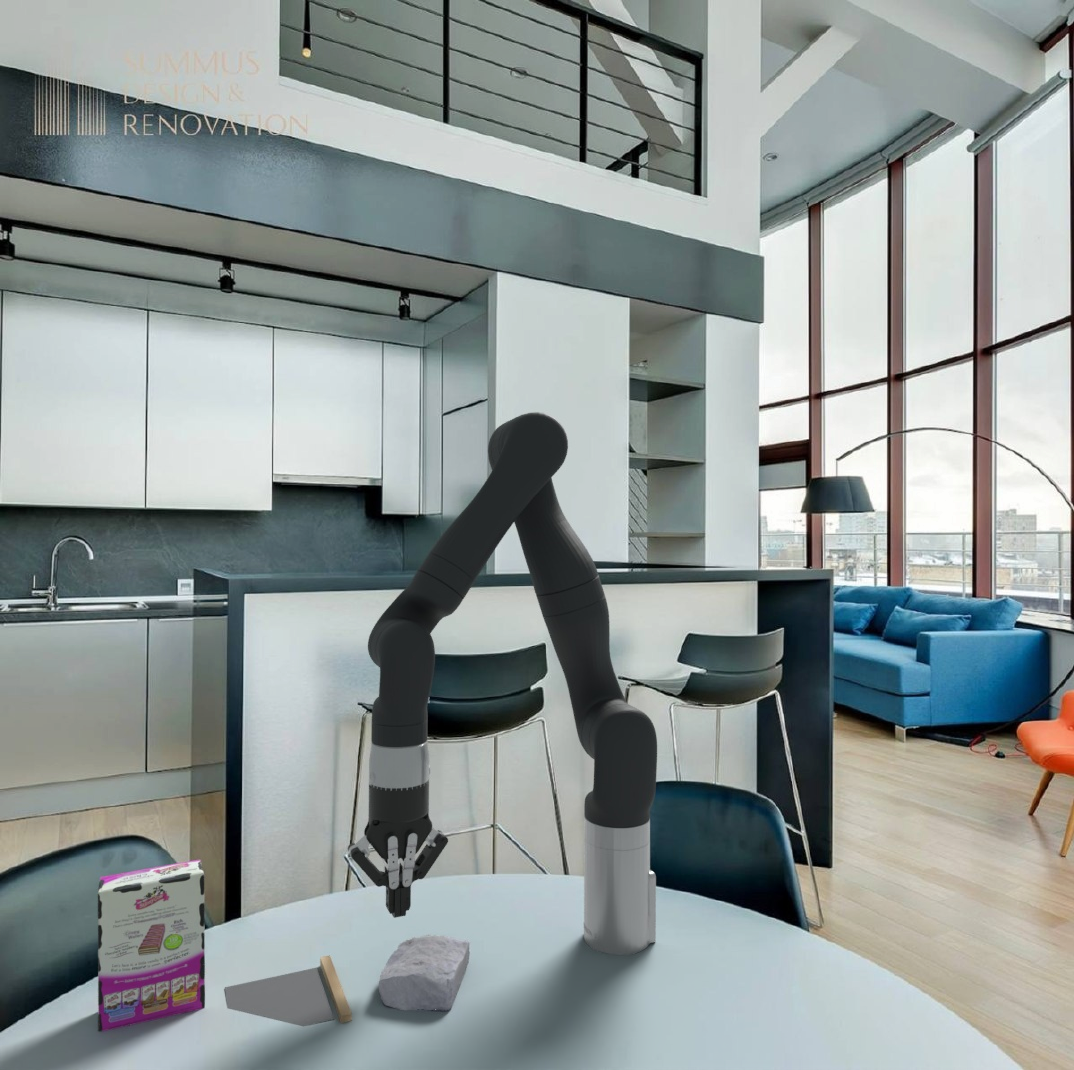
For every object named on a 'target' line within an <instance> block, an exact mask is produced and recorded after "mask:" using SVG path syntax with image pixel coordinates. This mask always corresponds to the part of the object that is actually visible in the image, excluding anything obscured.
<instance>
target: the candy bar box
mask: <svg viewBox="0 0 1074 1070" xmlns="http://www.w3.org/2000/svg"><path fill="white" fill-rule="evenodd" d="M205 921H206V920H205V873H204V868H203V866H202V860H201V859H195V860H189V861H183V862H177V863H171V864H165V865H160V866H156V867H149V868H144V869H137V870H134V871H133V870H132V871H128V872H127V871H126V872H121V873H117V874H110V875H106V876H105V875H103V876H100V877H99V884H98V889H97V964H98V965H97V969H98V970H97V973H98V974H97V977H98V978H97V979H98V980H97V985H98V986H97V993H98V994H97V1002H98V1008H97V1012H98V1015H97V1031H98V1032H104V1031H108V1030H113V1029H114V1030H115V1029H118V1028H122V1027H121V1026H123V1027H126V1025H127V1026H131V1025H130V1024H132V1025H136V1024H140V1023H144V1022H150V1021H153V1020H157V1019H162V1018H167V1017H171V1016H176V1015H179V1014H185V1013H188V1012H195V1011H198V1010H202V1009H205V1008H206V1007H205V1006H206V968H205V967H206V963H205V961H206V960H205V959H206V956H205V955H206V953H205V952H206V951H205V948H206V947H205V945H206V944H205V936H206V935H205Z"/></svg>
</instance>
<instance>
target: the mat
mask: <svg viewBox="0 0 1074 1070" xmlns="http://www.w3.org/2000/svg"><path fill="white" fill-rule="evenodd" d="M224 992H225V1001H226V1009H229V1010H233V1011H237V1012H241V1013H246V1014H249V1015H252V1016H253V1015H254V1016H258V1017H261V1018H267V1019H271V1020H274V1021H278V1022H283V1023H286V1024H291V1025H296V1026H298V1027H299V1026H300V1027H307V1026H311V1025H316V1024H317V1025H318V1024H321V1023H325V1022H329V1021H334V1020H335V1017H334V1014H333V1012H332V1008H331V1006H330V1002H329V999H328V996H327V993H326V990H325V987H324V985H323V982H322V979H321V976H320V972H319V969H318V967H313V968H309V969H305V970H299V971H293V972H290V973H284V974H281V975H276V976H271V977H266V978H263V979H262V978H261V979H258V980H253V981H252V980H251V981H248V982H244V983H239V984H234V985H231V986H230V985H229V986H226V987H224Z"/></svg>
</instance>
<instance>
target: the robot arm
mask: <svg viewBox="0 0 1074 1070" xmlns="http://www.w3.org/2000/svg"><path fill="white" fill-rule="evenodd" d="M487 446H488V447H487V455H488V456H487V457H488V462H489V465H490V468H491V472H490V474H489V475H488V477H487V479H486V481H485V482H484V483H483V485H482V487H481V488H480V489H479V490H478V492H477V494H476V495H475V496H474V498H473V499H472V500H471V501H470V502H469V503H468V505H467V506H466V507H465V508H464V510H462V512H461V513H460V514H459V515H458V516H457V517H456V518H455V519H454V520H453V522H452V523H451V524H449V526H448V527H447V528H446V529H445V531H444V532H443V533H442V534H441V535H440V536H439V539H438V540H437V541H436V542H435V544H434V545H433V547H432V548H431V549H430V550H429V552H428V554H427V555H426V557H425V559H424V560H423V561H422V563H421V564H420V566H419V568H418V569H417V570H416V572H415V574H414V575H413V577H412V579H411V580H410V583H409V584H408V585H407V586H406V587H405V588H404V589H403V590H402V591H401V592H400V593H399V595H397V596H396V598H395V599H394V600H393V601H392V603H391V604H390V605H389V606H388V607H387V608H386V610H384V612H383V613H382V614H381V615H380V617H379V618H378V619H377V621H376V623H375V624H374V626H373V628H372V630H371V631H370V634H369V636H368V641H367V651H368V654H369V657H370V659H371V661H372V662H373V664H375V665H376V666H378V668H379V687H378V688H379V689H378V696H377V697H376V698H375V700H374V701H373V704H372V709H371V736H370V737H371V738H370V739H371V740H370V741H371V742H370V744H371V746H370V753H369V760H368V821H367V823H366V826H365V827H364V830H363V834H364V835H363V836H362V837H361V838H360V839H359V840H358V841H357V842H355V843H354V842H353V843H350V844H349V845H348V846H347V852H348V854H349V855H350V856H351V858H352V860H353V861H354V862H355V863H356V864H357V866H358V867H359V868H360V869H361V870H362V871H363V872H364V873H365V875H366V876H367V877H368V878H369V879H370V880H371V881H372V882H373V884H374V885H375V886H376V887H385V906H386V909H387V912H388V913H389V914H390V915H392V917H393V918H394V919H396V918H400V917H405V916H406V915H407V911H409V910H410V909H411V903H412V902H411V899H412V898H411V894H412V892H411V890H412V884H413V883H414V882H415V881H417V880H422V879H424V878H425V877H426V876H427V874H428V873H429V871H430V870H431V868H432V867H433V865H434V864H435V862H436V861H437V859H438V858H439V857H440V855H441V853H442V852H443V850H444V849H445V848H446V847H447V845H448V842H449V838H448V837H447V836H446V835H445V834H444V833H443V832H442V830H440V829H438V830H437V829H435V828H434V827H433V822H432V820H431V819H430V815H429V814H430V813H429V811H430V774H431V766H430V753H429V752H430V751H429V744H428V742H429V741H428V733H429V732H428V725H429V724H428V721H429V720H428V717H429V715H428V704H429V699H430V695H431V691H432V690H431V689H432V685H433V679H434V673H435V666H436V665H435V664H436V650H435V649H436V647H435V644H434V643H435V642H434V640H433V637H432V634H431V633H432V632H433V630H434V629H435V628H436V626H437V625H438V624H439V623H440V621H441V620H442V619H443V618H446V617H448V616H451V615H452V614H453V613H455V611H456V610H457V609H458V608H459V607H460V605H461V604H462V602H463V601H464V599H465V598H466V596H467V594H468V593H469V591H470V590H471V588H472V586H473V585H474V583H475V582H476V580H477V578H478V576H480V573H481V572H482V570H483V569H484V567H485V566H486V564H487V563H488V560H489V559H490V558H491V556H492V554H493V553H494V552H495V550H496V548H497V547H498V545H499V544H500V543H501V541H502V539H503V538H504V536H505V535H506V534H507V533H508V531H509V529H510V528H511V527H512V525H513V524H514V525H515V526H514V527H515V528H516V532H517V535H518V538H519V542H520V545H521V548H522V552H523V555H524V560H525V562H526V566H527V568H528V571H529V575H530V580H531V581H532V586H533V590H534V593H535V595H536V599H537V602H538V605H539V608H540V610H541V611H540V613H541V615H542V619H543V620H544V623H545V626H546V628H547V631H548V634H549V638H550V640H551V643H552V646H553V648H554V652H555V654H556V657H557V659H558V661H559V664H560V666H561V670H562V673H563V674H564V678H565V681H566V686H567V689H568V694H569V698H570V704H571V708H572V709H571V710H572V713H573V719H574V723H575V728H576V732H577V738H578V740H579V742H580V745H581V747H582V748H583V750H584V751H585V753H586V754H587V755H588V756H589V757H590V758H591V759H592V760H593V761H594V762H593V786H592V790H591V791H590V792H588V793H587V794H586V796H585V799H584V803H583V804H584V805H583V806H584V815H583V817H584V819H583V821H584V827H583V828H584V829H583V831H584V832H583V837H584V838H583V839H584V840H583V843H584V844H583V846H584V849H583V850H584V852H583V855H584V857H583V858H584V859H583V861H584V863H583V869H584V870H583V871H584V872H583V874H584V875H583V878H584V879H583V881H584V882H583V939H584V942H585V944H586V945H587V946H588V947H590V948H591V949H593V950H594V951H597V952H600V953H603V954H607V955H614V956H628V955H629V956H630V955H634V954H638V953H640V952H643V951H644V950H645V949H647V947H648V946H649V945H650V944H651V943H655V942H656V939H657V936H656V935H657V930H656V928H657V926H656V925H657V923H656V922H657V904H656V902H657V896H656V895H657V889H656V888H657V876H656V873H655V872H654V871H653V870H652V869H651V807H652V805H653V803H654V801H655V796H656V790H657V789H656V788H657V769H658V768H657V765H658V740H657V739H658V737H657V732H656V728H655V726H654V723H653V722H652V719H651V718H650V717H649V716H648V715H647V714H646V713H645V712H643V710H640V709H638V708H637V707H635V706H633V705H631V704H629V703H628V702H627V700H626V698H625V696H624V693H623V691H622V689H621V686H620V683H619V681H618V678H617V676H616V673H615V670H614V667H613V662H612V659H611V652H610V649H611V648H610V636H611V635H610V612H609V606H608V602H607V598H606V594H605V591H604V589H603V588H604V587H603V584H602V582H601V579H600V578H601V577H600V575H599V572H598V569H597V567H596V564H595V561H594V560H593V557H592V556H591V554H590V553H589V551H588V549H587V547H586V546H585V545H584V543H583V542H582V540H581V538H580V537H579V535H578V534H577V533H576V531H575V530H574V528H573V527H572V526H571V524H570V522H569V521H568V519H567V518H566V516H565V514H564V512H563V510H562V508H561V505H560V503H559V500H558V496H557V493H556V489H555V486H554V483H553V479H552V477H553V476H554V475H555V474H556V473H557V472H558V471H559V470H560V469H561V467H562V466H563V465H564V463H565V461H566V458H567V455H568V450H569V442H568V436H567V433H566V431H565V429H564V427H563V425H562V424H561V423H560V422H559V421H558V420H557V418H555V417H553V416H551V415H550V414H548V413H544V412H539V411H538V412H536V411H534V412H527V413H524V414H520V415H518V416H515V417H513V418H512V419H510V420H508V421H505V422H504V423H502V424H501V425H499V426H498V427H497V428H496V429H495V430H494V431H493V433H492V434H491V436H490V438H489V441H488V445H487ZM424 843H426V844H425V846H424V848H421V847H423V845H424ZM370 846H371V847H372V848H373V849H374V851H375V852H376V853H377V855H379V857H380V858H381V859H382V864H383V871H381V870H380V869H378V867H377V866H376V865H375V864H374V863H373V862H372V860H371V859H369V857H370V855H371V850H370V849H369V847H370ZM420 849H422V850H421V852H420V853H419V851H420ZM418 853H419V854H418ZM416 854H418V856H417V857H416Z"/></svg>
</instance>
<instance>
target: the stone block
mask: <svg viewBox="0 0 1074 1070" xmlns="http://www.w3.org/2000/svg"><path fill="white" fill-rule="evenodd" d="M470 954H471V953H470V940H469V939H466V940H462V939H459V938H455V937H448V936H446V935H437V934H433V935H432V934H426V935H422V936H417V937H415V936H414V937H412V938H409V939H406V940H404V941H402V942H400V943H399V944H398V946H397V949H396V950H394V951H393V952H392V954H391V955H390V956H389V958H388V959H387V961H386V963H385V966H384V967H383V968H382V969H381V974H380V979H379V981H378V992H379V995H380V999H381V1001H382V1002H383V1004H384V1005H385V1006H387V1007H390V1008H393V1009H397V1010H400V1011H403V1010H404V1011H405V1012H406V1011H418V1010H417V1009H424V1010H423V1011H427V1010H433V1011H440V1010H443V1011H442V1012H448V1011H449V1010H451V1009H452V1006H453V1005H454V1003H455V999H456V996H457V994H458V991H459V989H460V986H461V983H462V981H463V978H464V975H465V974H466V973H465V972H466V971H467V968H468V964H469V961H470ZM450 1008H451V1009H450ZM435 1009H437V1010H435ZM444 1010H446V1011H444ZM447 1010H448V1011H447Z"/></svg>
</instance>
